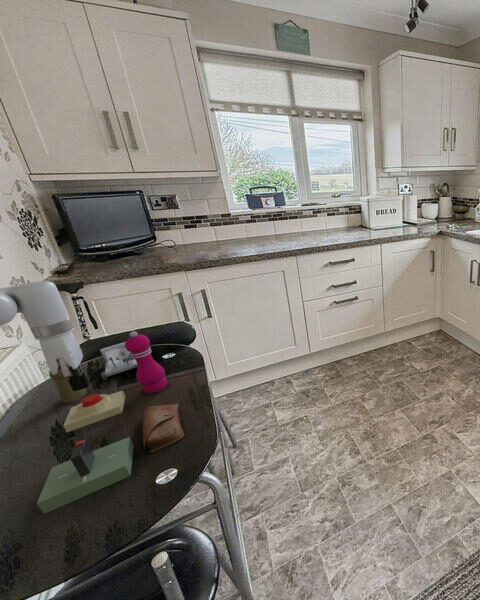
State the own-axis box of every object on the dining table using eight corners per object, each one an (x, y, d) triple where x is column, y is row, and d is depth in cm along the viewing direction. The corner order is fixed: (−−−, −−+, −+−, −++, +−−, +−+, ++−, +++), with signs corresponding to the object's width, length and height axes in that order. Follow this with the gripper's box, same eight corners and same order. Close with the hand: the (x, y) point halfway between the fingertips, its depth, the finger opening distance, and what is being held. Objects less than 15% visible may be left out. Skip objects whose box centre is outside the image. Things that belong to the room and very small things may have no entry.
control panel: (43, 514, 65) (36, 503, 64) (58, 477, 74) (51, 466, 72) (130, 475, 72) (125, 465, 71) (134, 446, 81) (129, 436, 80)
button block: (66, 432, 88) (59, 420, 86) (74, 413, 96) (68, 402, 94) (122, 412, 94) (116, 401, 93) (125, 396, 102) (120, 385, 100)
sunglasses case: (187, 434, 82) (163, 423, 78) (163, 459, 80) (137, 448, 76) (179, 402, 95) (158, 391, 91) (158, 422, 93) (136, 411, 89)
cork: (59, 399, 104) (43, 369, 100) (84, 388, 108) (69, 360, 104) (64, 405, 100) (47, 374, 96) (89, 394, 105) (74, 364, 101)
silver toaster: (135, 346, 112) (91, 359, 106) (145, 370, 116) (104, 385, 109) (133, 331, 125) (94, 342, 119) (142, 353, 129) (105, 365, 122)
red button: (82, 409, 91) (79, 404, 90) (85, 402, 94) (82, 397, 94) (100, 403, 93) (98, 398, 92) (103, 396, 96) (100, 391, 96)
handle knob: (90, 472, 70) (79, 454, 68) (80, 476, 69) (69, 458, 67) (95, 456, 74) (85, 438, 72) (85, 460, 74) (75, 442, 72)
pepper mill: (145, 397, 100) (119, 339, 93) (140, 388, 105) (115, 333, 98) (171, 385, 105) (149, 329, 98) (166, 377, 110) (144, 324, 103)
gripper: (42, 324, 89) (69, 381, 95) (23, 342, 77) (56, 407, 83) (78, 316, 93) (103, 372, 99) (65, 333, 81) (94, 395, 87)
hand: (81, 387), depth 91 cm, fingers closed
